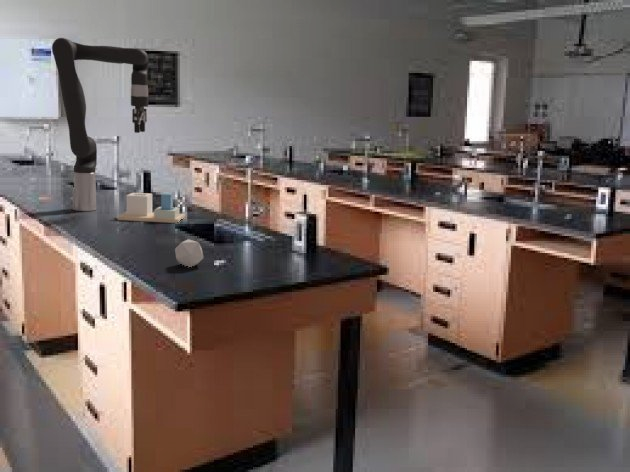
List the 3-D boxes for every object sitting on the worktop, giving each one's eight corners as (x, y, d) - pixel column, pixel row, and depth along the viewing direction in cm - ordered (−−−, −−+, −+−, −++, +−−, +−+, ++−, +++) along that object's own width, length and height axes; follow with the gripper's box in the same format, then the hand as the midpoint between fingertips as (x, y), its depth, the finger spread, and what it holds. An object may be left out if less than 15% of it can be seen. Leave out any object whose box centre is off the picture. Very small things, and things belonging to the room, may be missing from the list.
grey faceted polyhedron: (183, 262, 210) (167, 241, 204) (207, 250, 210) (192, 228, 204) (185, 278, 203) (169, 256, 197) (210, 265, 203) (195, 243, 197)
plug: (161, 217, 275) (161, 194, 273) (163, 215, 279) (163, 193, 277) (170, 217, 275) (170, 194, 273) (172, 216, 279) (172, 193, 277)
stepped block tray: (117, 219, 272) (117, 196, 270) (127, 214, 286) (127, 192, 284) (178, 223, 272) (178, 199, 270) (185, 217, 286) (185, 195, 284)
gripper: (135, 95, 292) (136, 131, 295) (126, 94, 278) (126, 132, 281) (152, 96, 292) (152, 132, 295) (143, 95, 278) (143, 133, 281)
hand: (139, 132), depth 288 cm, fingers open, 8 cm apart
